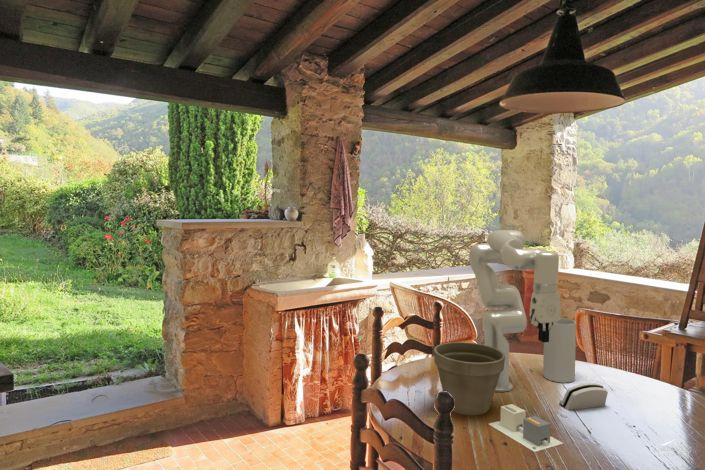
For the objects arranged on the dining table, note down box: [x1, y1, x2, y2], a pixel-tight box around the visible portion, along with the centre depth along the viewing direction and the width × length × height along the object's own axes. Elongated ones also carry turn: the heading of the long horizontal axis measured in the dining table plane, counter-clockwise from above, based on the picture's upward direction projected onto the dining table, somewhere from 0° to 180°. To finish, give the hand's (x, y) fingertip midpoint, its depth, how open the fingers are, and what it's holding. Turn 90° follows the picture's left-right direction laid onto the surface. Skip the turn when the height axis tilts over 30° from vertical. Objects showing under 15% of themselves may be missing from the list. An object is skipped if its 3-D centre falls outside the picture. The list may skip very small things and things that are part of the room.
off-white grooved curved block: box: [558, 382, 608, 411], centre depth 172 cm, size 17×5×10 cm, turn 104°
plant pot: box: [433, 341, 505, 416], centre depth 169 cm, size 25×25×22 cm
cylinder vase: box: [542, 317, 577, 384], centre depth 201 cm, size 12×12×25 cm
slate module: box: [523, 415, 551, 446], centre depth 145 cm, size 6×5×6 cm
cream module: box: [499, 403, 527, 432], centre depth 154 cm, size 6×5×6 cm
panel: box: [488, 420, 564, 453], centre depth 149 cm, size 20×12×2 cm, turn 25°
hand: (543, 341), depth 159 cm, fingers closed
